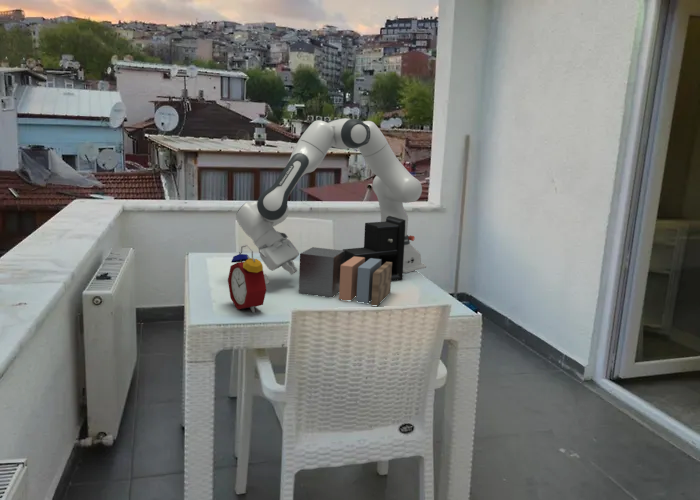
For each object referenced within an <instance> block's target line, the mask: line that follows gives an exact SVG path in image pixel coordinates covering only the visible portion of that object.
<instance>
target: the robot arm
mask: <svg viewBox="0 0 700 500" xmlns="http://www.w3.org/2000/svg"><path fill="white" fill-rule="evenodd" d="M331 148H333V149H341V150H347V149H358V150H359V152H360V153H361V155H362V158H363V159H364V161H365V163H366V164H367V167H368V168H369V169H370V171H371V173H373V174H374V175H375V177H374V178H373V180H372V185H371V186H372V190H373V192H374V194H375V195H376V197H377V201H378V205H379V210H380V222H386V218H387V217H388V216H392V217H396V218H400V219H403V220H406V221H405V241H404V259H403V274H405V273H406V274H407V273H410V272H415V271H418V270H422V269H423V270H424V269H426V268H427V265H426V264H425V263H423V262H422V256H421V252H419V250H417V249H416V248H415V246H413V245H412V244H411V241H412V242H414V241H415V239H416V238H415V236H414V235H409V234H408V227H409V226H408V225H409V216H408V213H407V212H406V211H405V208H404V205H403V204H406V203H407V204H408V203H414V202H417V201H418V200H419V199H420V197H421V195H422V194H423V193H422V192H423V186H422V183H421V182H420V180H419V179H417V178H416V177H415V176H413V174H411V173H410V172H409V170H408V169H407V168H406V167H405V166H404V165H403V163H401V160H399V159H398V157H397V156H396V154H395V153H394V151H393V149H392V147H391V146H390V143H389V142H388V140H387V138H386V136H385V135H384V133H382V131H381V129H380V128H379V127H378V126H377V125H376V123H375V122H374V121H372V120H364V121H363V120H362V121H361V120H359V119H357V118H347V117H346V118H339V119H331V120H329V121H324V120H320V119H318V120H314V121H313V122H312V123H311V124H310V125H308V127H307V128H306V130H305V131H304V132H303V133H302V135H301V136H300V138H299V139H298V141H297V142H296V144H295V146H294V149H293V150H292V153H291V155H290V158H289V159H288V162H287V163H286V166H285V167H284V169H283V170H282V172H281V173H280V175H279V176H278V178H277V179H276V180H275V182H274V183H273V185H272V186H271V187H269V188H268V189H266V190H265V191H264V192H262V193H261V194H260V195H259V197H258V199H257V201H246V202H245V203H243V205H241V206H240V207H239V208H238V210H237V212H236V214H235V220H236V222H237V223H238V225H239V227H240V228H241V229H242V231H243V232H244V233H245V234H246V235H247V236H248V237H250V239H251V240H252V242H253V244H254V246H255V247H256V248H257V249H258V253H259V257H260V259H261V261H262V262H263V264H265V266H266V267H267V269H268V270H269V271H271V272H272V271H275V270H277V269H279V268H280V267H282V268H283V270H285V271H286V272H288V273H289V274H290V276H291V275H294V274H296V273H297V272H298V268H297V267H296V265H295V263H294V261H295V260H296V259H297V258H298V257H300V253H299V250H298V249H297V247H296V246H295V245H294V243H293V242H292V241H291V240H290V239H288V238H289V236H288V235H287V234H286V232H285V233H284V232H280V231H277V230H276V228H274V227H276V226H277V225H279V224H281V223H282V222H284V221H285V220H286V219H287V217H288V215H289V207H288V200H289V197H290V195H291V193H292V192H293V190H294V189H295V187H296V186H297V184H298V182H299V181H300V179H301V178H302V177H303V176H304V175H306V174H310V173H312V172H315V170H316V169H317V168H318V167H319V166H320V165H321V163H323V161H324V159H325V157H326V155H327V153H328V151H329V150H330V149H331Z"/></svg>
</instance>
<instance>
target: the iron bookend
mask: <svg viewBox="0 0 700 500" xmlns="http://www.w3.org/2000/svg"><path fill="white" fill-rule="evenodd" d="M344 258H345V251H343V249H342V250H340V249H331V248H324V247H315V246H312V247H310V248H309V249H306V250H304V251H303V252H300V253H299V273H298V274H299V276H298V277H299V278H298V294H300V295H301V294H302V295H307V294H308V295H309V296H314V295H318V296H317V297H322V296H325V297H324V298H329V297H333V296H334V295H335V296H336V295H337V293H338V292H339V289H340V266H341V265H342V264H343V263H344ZM338 294H339V293H338ZM335 296H334V297H335ZM334 297H333V298H334Z"/></svg>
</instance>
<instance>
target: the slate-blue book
mask: <svg viewBox="0 0 700 500" xmlns="http://www.w3.org/2000/svg"><path fill="white" fill-rule="evenodd" d="M381 260H382V259H373V258H370V259H369V260H367V261H366V262H365V263H363V264H362V265H361V266H359V267H358V279H357V296H356V299H355V300H356V301H358V302H364V303H369V301H371V300H372V283H373V273H374V272H375V271H376V270H377V269H378V268H380V267H381ZM369 304H370V303H369Z"/></svg>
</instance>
